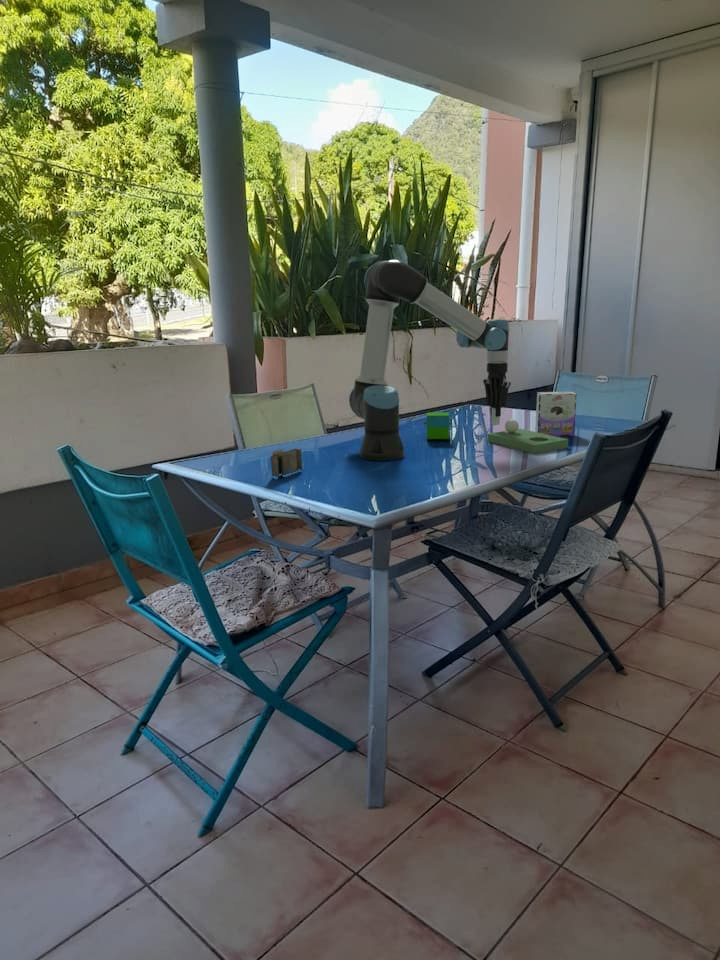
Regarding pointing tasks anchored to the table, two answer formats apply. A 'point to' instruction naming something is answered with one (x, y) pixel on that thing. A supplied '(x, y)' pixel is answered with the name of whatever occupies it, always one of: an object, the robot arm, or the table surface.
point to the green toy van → (437, 426)
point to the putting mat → (528, 441)
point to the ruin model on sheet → (286, 462)
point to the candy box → (556, 413)
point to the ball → (511, 426)
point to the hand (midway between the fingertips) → (495, 424)
